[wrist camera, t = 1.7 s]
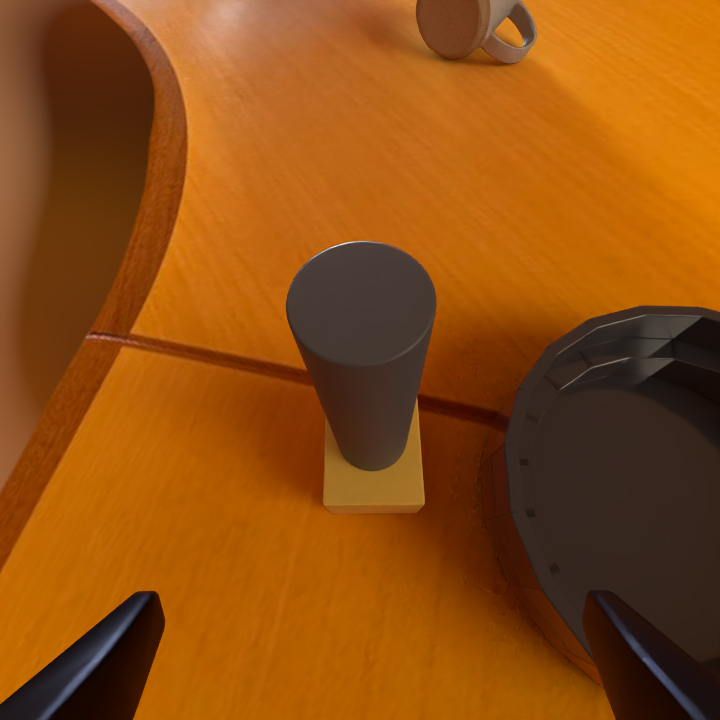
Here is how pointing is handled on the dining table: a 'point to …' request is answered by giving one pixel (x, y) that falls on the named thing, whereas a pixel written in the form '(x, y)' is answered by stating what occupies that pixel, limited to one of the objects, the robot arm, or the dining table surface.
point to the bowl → (614, 478)
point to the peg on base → (366, 370)
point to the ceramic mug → (474, 27)
